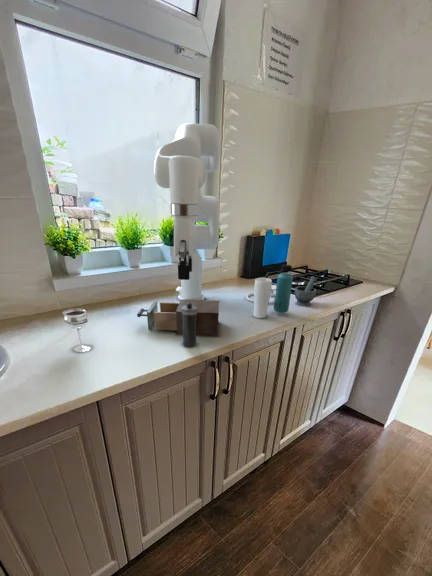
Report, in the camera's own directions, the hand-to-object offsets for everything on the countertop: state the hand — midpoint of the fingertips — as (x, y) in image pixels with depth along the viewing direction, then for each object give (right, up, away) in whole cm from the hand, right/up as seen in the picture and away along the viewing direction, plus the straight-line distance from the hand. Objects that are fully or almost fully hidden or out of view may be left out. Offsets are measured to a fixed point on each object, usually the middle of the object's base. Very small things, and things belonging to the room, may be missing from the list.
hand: (185, 275), depth 97 cm
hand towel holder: (+33, +9, +60) cm, 69 cm away
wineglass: (-33, -22, +5) cm, 40 cm away
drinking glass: (+27, -5, +37) cm, 46 cm away
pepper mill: (0, -20, +11) cm, 22 cm away
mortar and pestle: (+51, +5, +55) cm, 75 cm away
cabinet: (+3, -12, +23) cm, 26 cm away
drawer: (-10, -11, +23) cm, 27 cm away
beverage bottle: (+37, -3, +41) cm, 55 cm away
